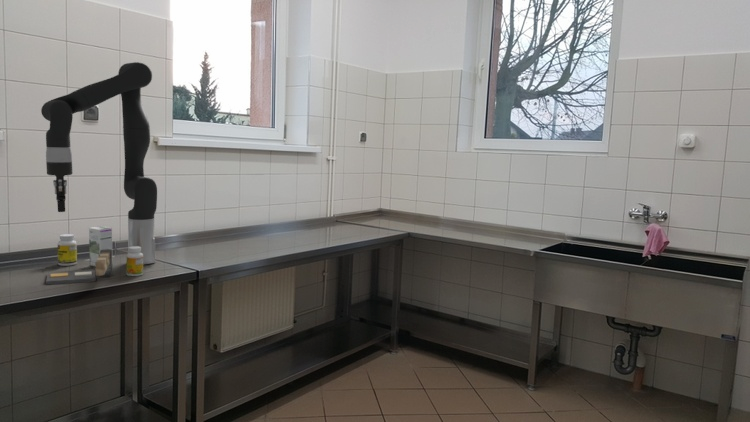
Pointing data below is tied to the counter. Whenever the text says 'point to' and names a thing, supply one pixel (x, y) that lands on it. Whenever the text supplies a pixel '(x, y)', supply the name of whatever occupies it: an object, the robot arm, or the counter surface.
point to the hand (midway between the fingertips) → (61, 211)
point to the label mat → (70, 276)
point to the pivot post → (108, 271)
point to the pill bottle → (67, 250)
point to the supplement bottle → (134, 261)
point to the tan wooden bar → (103, 261)
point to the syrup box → (99, 242)
